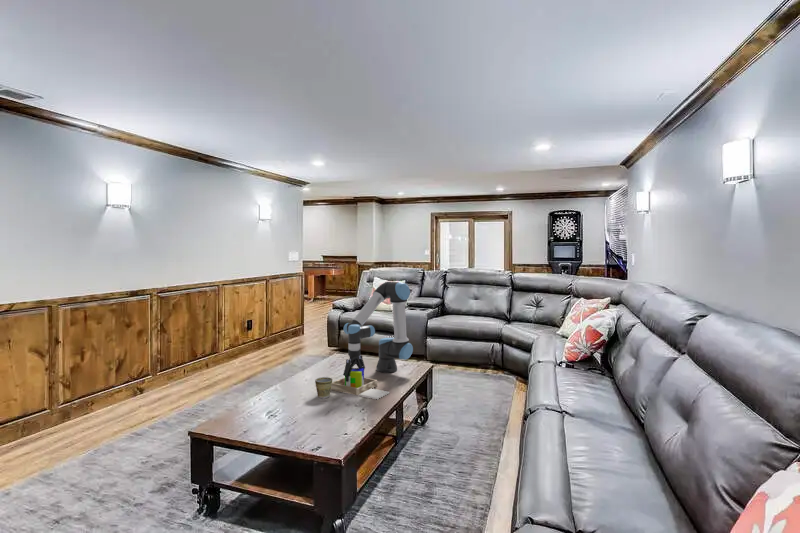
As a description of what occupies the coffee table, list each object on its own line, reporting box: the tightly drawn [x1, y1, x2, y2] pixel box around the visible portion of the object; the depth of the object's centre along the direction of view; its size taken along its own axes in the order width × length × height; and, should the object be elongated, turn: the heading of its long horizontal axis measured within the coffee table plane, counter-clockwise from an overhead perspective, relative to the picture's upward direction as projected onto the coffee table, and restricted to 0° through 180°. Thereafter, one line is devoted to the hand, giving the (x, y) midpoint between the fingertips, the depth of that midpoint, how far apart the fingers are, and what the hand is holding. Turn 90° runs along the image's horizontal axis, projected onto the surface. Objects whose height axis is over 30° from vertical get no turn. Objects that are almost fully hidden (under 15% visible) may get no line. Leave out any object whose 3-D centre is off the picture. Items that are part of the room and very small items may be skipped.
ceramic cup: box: [314, 376, 333, 399], centre depth 256 cm, size 13×10×10 cm
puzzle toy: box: [344, 367, 365, 388], centre depth 271 cm, size 10×10×10 cm
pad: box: [358, 388, 390, 400], centre depth 258 cm, size 13×13×1 cm
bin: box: [331, 377, 378, 396], centre depth 271 cm, size 21×21×4 cm
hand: (354, 383), depth 271 cm, fingers closed on puzzle toy, 12 cm apart
